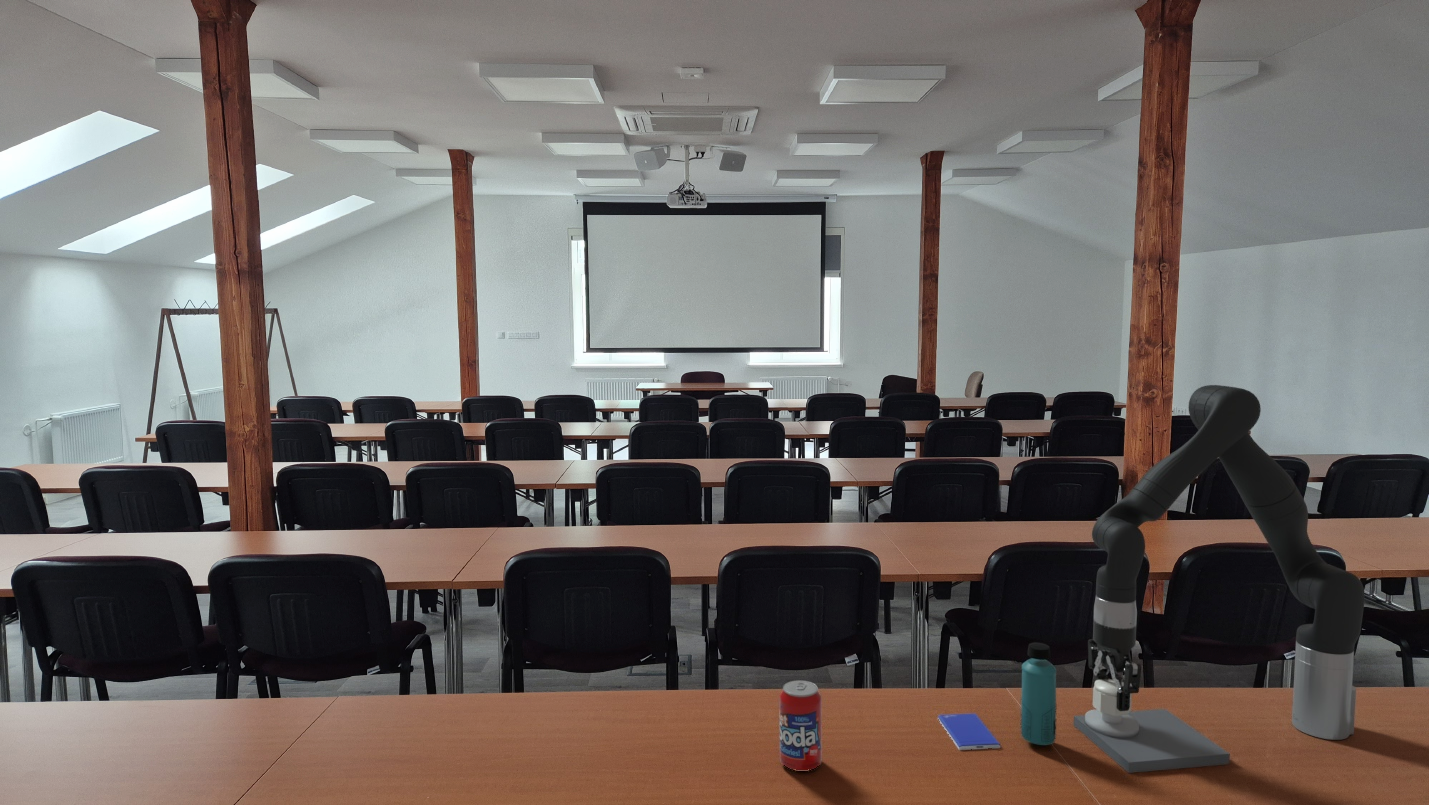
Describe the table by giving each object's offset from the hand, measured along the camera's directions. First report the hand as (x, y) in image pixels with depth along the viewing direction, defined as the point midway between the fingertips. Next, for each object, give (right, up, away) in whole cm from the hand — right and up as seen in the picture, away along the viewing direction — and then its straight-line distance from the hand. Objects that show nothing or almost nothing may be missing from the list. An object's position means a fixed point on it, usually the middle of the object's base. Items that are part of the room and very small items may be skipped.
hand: (1111, 701), depth 162 cm
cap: (0, -1, 0) cm, 1 cm away
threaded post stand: (+6, -7, -3) cm, 10 cm away
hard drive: (-28, -8, +3) cm, 29 cm away
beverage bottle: (-16, -8, -2) cm, 18 cm away
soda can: (-62, -9, -8) cm, 63 cm away
